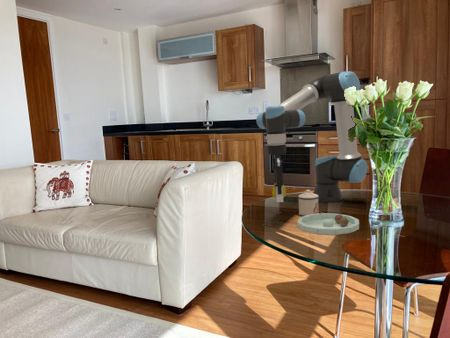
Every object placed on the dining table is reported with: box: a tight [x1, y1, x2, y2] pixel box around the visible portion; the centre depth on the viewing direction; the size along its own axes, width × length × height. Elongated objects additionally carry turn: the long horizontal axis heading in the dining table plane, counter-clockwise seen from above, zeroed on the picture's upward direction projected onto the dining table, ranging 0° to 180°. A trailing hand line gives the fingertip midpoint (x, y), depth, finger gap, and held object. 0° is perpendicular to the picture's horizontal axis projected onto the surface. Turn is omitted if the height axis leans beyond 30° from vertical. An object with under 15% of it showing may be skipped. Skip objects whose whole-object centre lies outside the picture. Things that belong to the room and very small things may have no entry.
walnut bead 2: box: [339, 217, 349, 226], centre depth 141 cm, size 4×4×4 cm
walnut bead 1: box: [335, 213, 343, 223], centre depth 145 cm, size 4×4×4 cm
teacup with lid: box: [297, 189, 320, 216], centre depth 164 cm, size 12×9×12 cm
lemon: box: [271, 182, 287, 199], centre depth 150 cm, size 6×6×8 cm
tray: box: [296, 212, 360, 236], centre depth 143 cm, size 23×23×4 cm
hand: (279, 200), depth 150 cm, fingers closed on lemon, 5 cm apart
